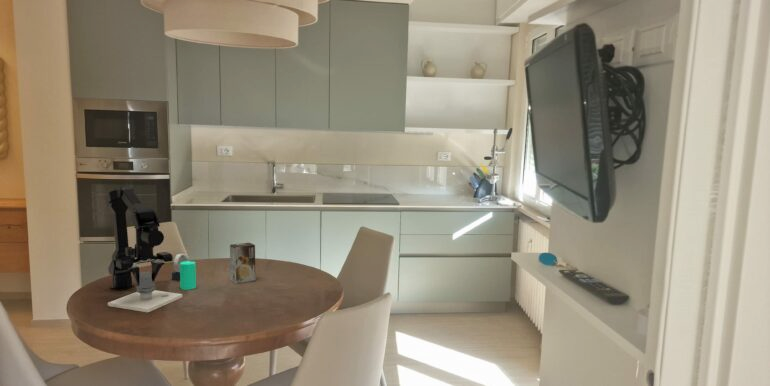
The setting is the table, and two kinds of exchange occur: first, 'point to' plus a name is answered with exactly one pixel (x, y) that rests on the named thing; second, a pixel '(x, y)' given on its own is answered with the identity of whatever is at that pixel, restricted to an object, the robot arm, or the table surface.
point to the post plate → (145, 300)
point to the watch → (177, 259)
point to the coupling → (145, 283)
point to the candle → (187, 275)
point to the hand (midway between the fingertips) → (145, 282)
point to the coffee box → (242, 262)
